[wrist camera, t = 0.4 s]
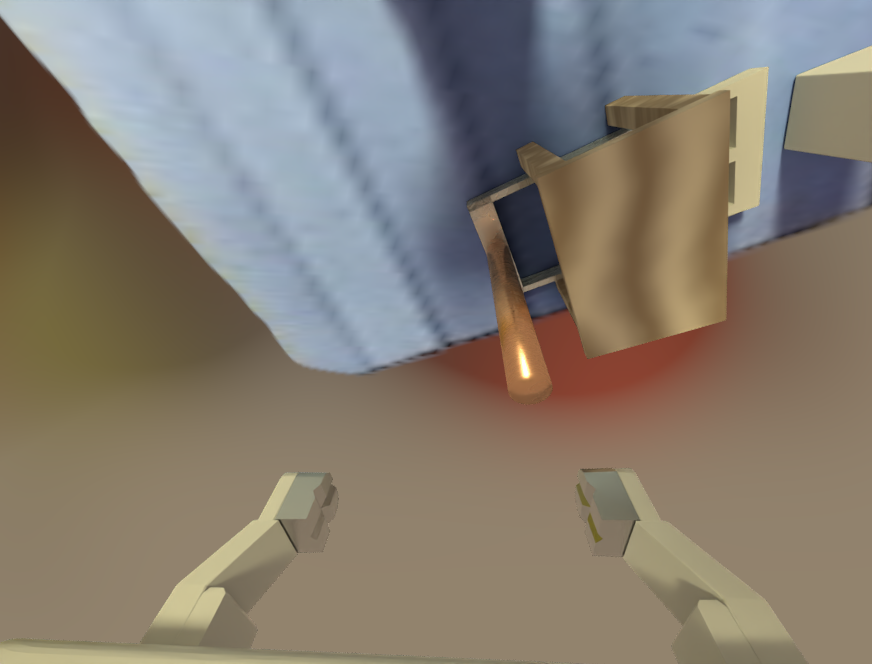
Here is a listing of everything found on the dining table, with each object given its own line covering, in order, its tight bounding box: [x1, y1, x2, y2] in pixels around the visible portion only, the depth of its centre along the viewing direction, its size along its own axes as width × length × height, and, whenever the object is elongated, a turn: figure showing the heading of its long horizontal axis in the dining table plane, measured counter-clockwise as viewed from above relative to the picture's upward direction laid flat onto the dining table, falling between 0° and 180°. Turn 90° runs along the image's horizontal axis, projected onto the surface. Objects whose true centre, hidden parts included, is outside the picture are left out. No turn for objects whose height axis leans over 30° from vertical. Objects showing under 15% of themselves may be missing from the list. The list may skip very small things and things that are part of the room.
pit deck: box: [695, 67, 769, 216], centre depth 37 cm, size 10×14×2 cm
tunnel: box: [516, 90, 730, 359], centre depth 35 cm, size 13×20×16 cm, turn 26°
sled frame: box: [467, 128, 632, 404], centre depth 31 cm, size 20×14×28 cm
